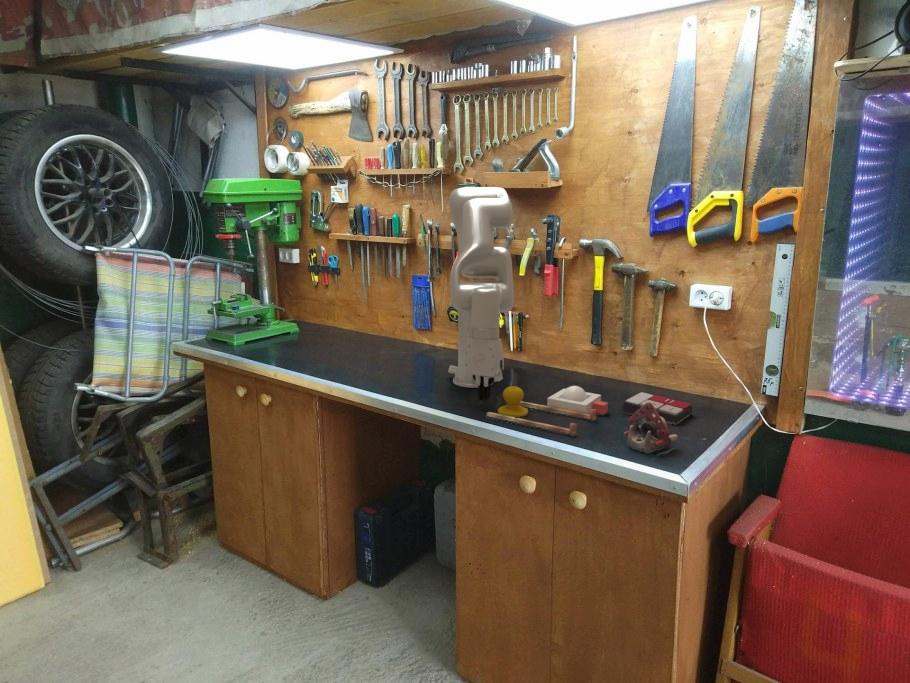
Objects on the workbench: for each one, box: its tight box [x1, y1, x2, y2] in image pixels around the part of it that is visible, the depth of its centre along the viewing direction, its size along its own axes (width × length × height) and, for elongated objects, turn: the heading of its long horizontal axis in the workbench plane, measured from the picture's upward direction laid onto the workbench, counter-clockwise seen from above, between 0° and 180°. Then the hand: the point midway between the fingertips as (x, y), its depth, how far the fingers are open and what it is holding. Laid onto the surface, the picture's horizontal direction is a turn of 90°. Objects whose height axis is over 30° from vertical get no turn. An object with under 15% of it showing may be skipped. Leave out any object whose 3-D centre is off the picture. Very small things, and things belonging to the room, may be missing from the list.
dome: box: [563, 385, 586, 402], centre depth 183 cm, size 6×6×6 cm
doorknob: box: [497, 385, 529, 417], centre depth 179 cm, size 8×8×8 cm
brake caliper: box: [623, 402, 679, 451], centre depth 156 cm, size 11×11×12 cm
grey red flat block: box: [622, 391, 693, 423], centre depth 179 cm, size 11×4×15 cm
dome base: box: [546, 388, 609, 414], centre depth 182 cm, size 14×11×4 cm
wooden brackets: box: [486, 400, 597, 435], centre depth 175 cm, size 25×15×3 cm, turn 57°
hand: (484, 399), depth 183 cm, fingers closed
